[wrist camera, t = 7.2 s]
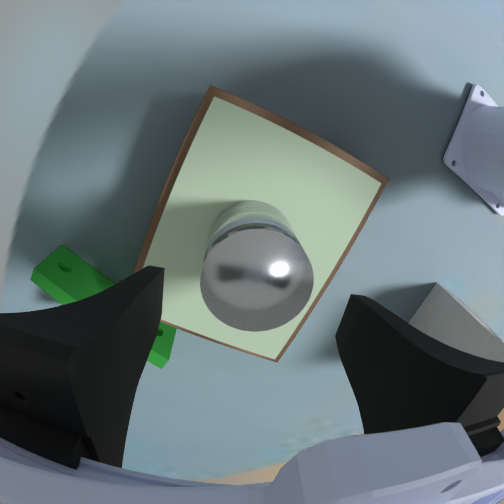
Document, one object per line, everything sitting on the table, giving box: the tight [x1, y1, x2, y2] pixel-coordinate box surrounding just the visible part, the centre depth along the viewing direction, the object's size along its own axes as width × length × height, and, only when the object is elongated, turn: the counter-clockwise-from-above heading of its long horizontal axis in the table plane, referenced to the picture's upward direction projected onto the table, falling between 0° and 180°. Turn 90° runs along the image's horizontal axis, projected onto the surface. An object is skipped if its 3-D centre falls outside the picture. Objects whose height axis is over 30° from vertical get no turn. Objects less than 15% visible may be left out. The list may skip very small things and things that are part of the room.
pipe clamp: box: [30, 245, 177, 368], centre depth 21 cm, size 11×4×5 cm, turn 51°
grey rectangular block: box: [408, 283, 504, 362], centre depth 21 cm, size 4×7×10 cm, turn 152°
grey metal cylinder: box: [200, 200, 314, 332], centre depth 15 cm, size 4×4×5 cm
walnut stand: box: [133, 85, 389, 362], centre depth 19 cm, size 11×14×4 cm
